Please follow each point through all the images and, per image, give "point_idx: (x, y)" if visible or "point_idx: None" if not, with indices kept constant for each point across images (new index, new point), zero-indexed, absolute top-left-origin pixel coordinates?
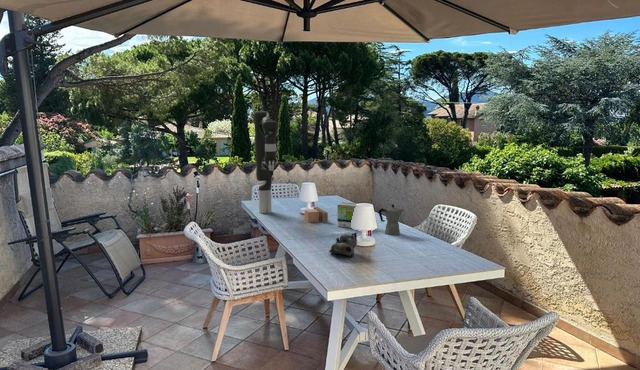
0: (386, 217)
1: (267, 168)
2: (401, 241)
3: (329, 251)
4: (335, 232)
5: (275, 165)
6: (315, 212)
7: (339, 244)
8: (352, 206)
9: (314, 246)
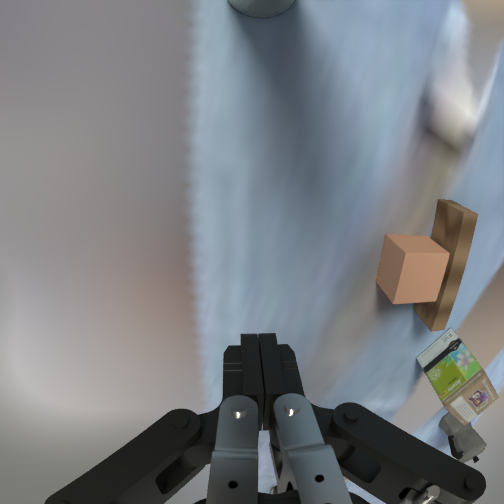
0: (457, 442)
1: (186, 469)
2: None
3: (270, 493)
4: (370, 404)
5: (388, 466)
6: (421, 300)
7: None
8: (458, 420)
9: (265, 464)
